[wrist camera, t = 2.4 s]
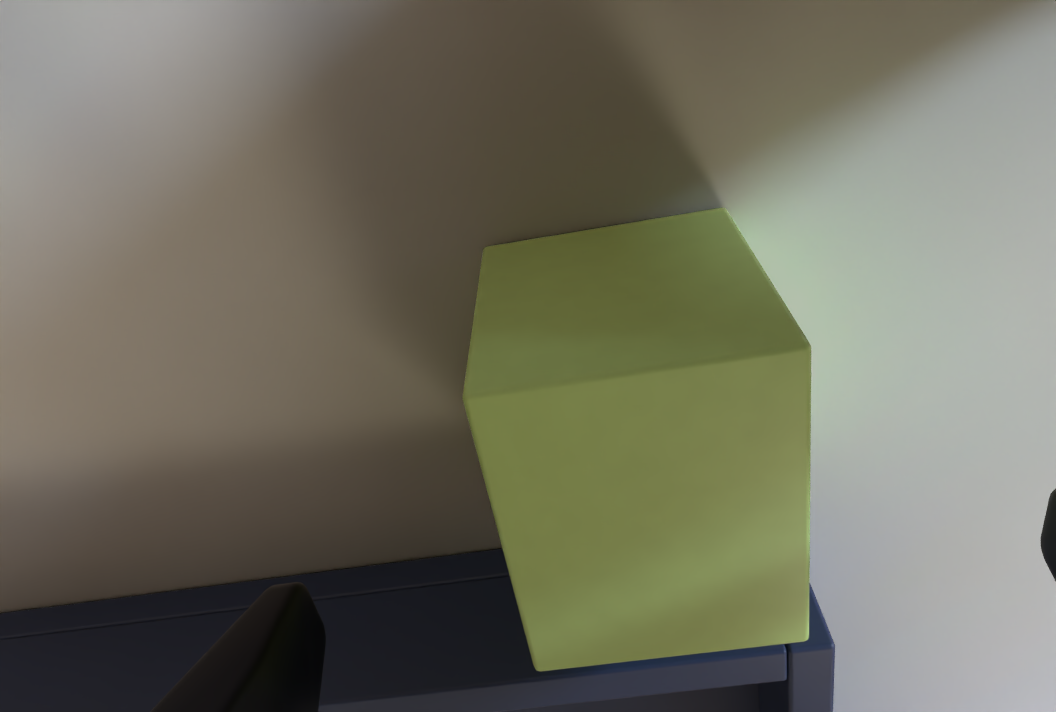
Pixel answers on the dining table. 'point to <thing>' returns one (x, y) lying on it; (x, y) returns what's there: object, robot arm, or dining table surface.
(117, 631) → the tray
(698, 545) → the sponge
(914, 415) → the dining table surface
